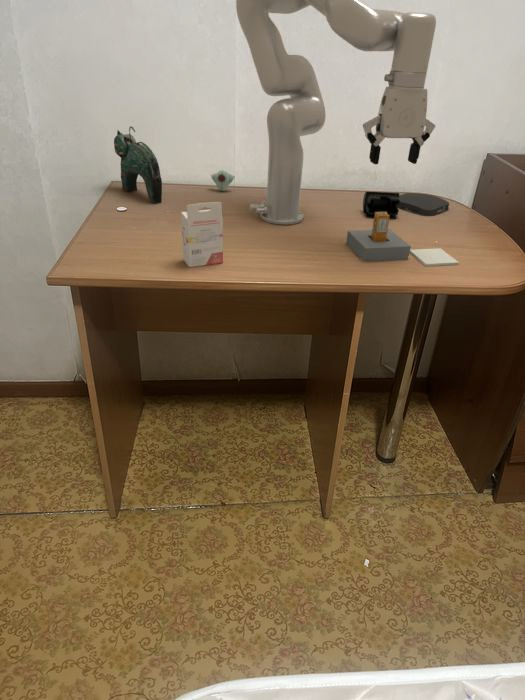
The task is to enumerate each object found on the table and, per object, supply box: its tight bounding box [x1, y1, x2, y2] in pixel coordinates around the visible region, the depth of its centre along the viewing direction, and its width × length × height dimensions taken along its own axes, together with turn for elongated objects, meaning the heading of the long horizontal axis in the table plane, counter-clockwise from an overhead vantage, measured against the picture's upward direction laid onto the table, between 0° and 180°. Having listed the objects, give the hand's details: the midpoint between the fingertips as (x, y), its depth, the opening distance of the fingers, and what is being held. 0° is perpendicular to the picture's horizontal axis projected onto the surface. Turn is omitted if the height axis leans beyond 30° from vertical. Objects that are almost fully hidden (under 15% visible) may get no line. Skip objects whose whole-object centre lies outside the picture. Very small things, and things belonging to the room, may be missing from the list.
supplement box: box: [371, 212, 390, 242], centre depth 131 cm, size 3×3×10 cm
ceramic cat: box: [113, 126, 163, 205], centre depth 157 cm, size 20×6×20 cm, turn 43°
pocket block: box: [345, 228, 412, 263], centre depth 132 cm, size 12×12×4 cm
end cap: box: [362, 190, 400, 220], centre depth 156 cm, size 10×7×7 cm
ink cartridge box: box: [180, 201, 224, 268], centre depth 119 cm, size 9×5×15 cm, turn 114°
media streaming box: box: [397, 192, 450, 217], centre depth 166 cm, size 15×15×3 cm
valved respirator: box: [210, 169, 236, 192], centre depth 168 cm, size 8×4×7 cm, turn 85°
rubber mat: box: [409, 247, 460, 267], centre depth 131 cm, size 9×9×1 cm
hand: (393, 162), depth 121 cm, fingers open, 9 cm apart
